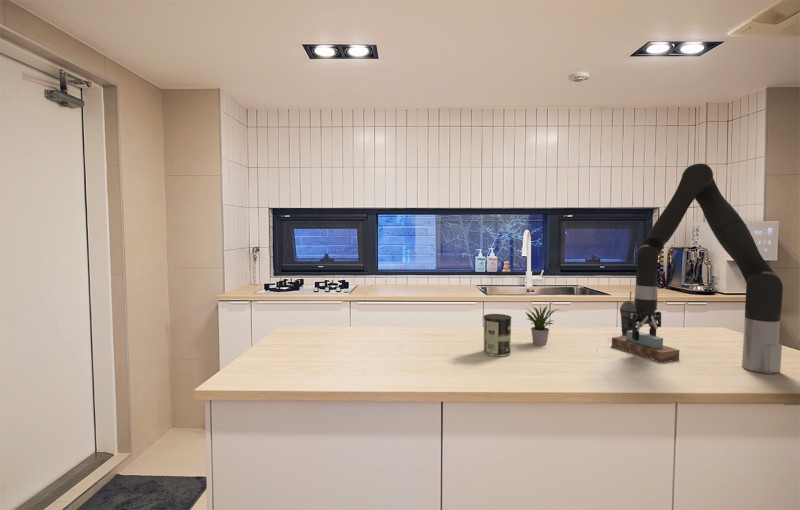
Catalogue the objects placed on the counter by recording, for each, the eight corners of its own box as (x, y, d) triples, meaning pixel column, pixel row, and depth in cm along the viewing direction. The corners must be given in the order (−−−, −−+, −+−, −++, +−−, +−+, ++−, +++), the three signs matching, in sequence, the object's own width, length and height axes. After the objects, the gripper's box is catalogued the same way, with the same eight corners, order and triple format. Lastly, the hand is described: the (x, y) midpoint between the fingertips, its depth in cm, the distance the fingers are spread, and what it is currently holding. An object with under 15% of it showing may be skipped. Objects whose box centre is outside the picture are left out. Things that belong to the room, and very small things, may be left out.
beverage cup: (633, 334, 195) (634, 290, 194) (640, 339, 188) (642, 292, 186) (616, 334, 196) (617, 289, 194) (622, 338, 189) (624, 292, 187)
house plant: (556, 339, 187) (557, 301, 186) (564, 348, 174) (566, 307, 172) (521, 338, 189) (522, 300, 188) (527, 347, 175) (528, 306, 174)
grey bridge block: (662, 355, 163) (663, 338, 162) (655, 356, 162) (656, 339, 161) (632, 346, 175) (633, 330, 174) (626, 347, 174) (626, 330, 173)
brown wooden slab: (679, 359, 160) (679, 350, 159) (660, 362, 157) (661, 352, 156) (628, 343, 180) (628, 335, 180) (611, 346, 177) (611, 337, 177)
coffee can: (510, 349, 172) (510, 314, 171) (511, 357, 162) (512, 319, 161) (483, 348, 174) (483, 313, 173) (482, 355, 164) (483, 318, 163)
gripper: (640, 300, 161) (638, 343, 162) (668, 297, 166) (666, 340, 167) (623, 296, 168) (621, 338, 169) (651, 294, 173) (649, 335, 174)
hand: (644, 339), depth 168 cm, fingers open, 8 cm apart
